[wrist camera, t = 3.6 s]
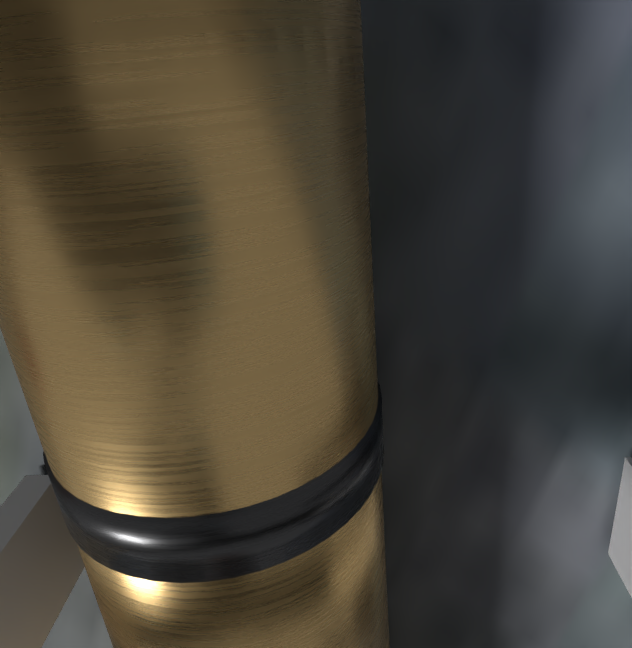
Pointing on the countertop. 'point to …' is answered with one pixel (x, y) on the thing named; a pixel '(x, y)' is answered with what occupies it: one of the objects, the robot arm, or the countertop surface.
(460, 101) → the countertop surface
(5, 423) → the countertop surface
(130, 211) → the tube
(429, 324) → the countertop surface
